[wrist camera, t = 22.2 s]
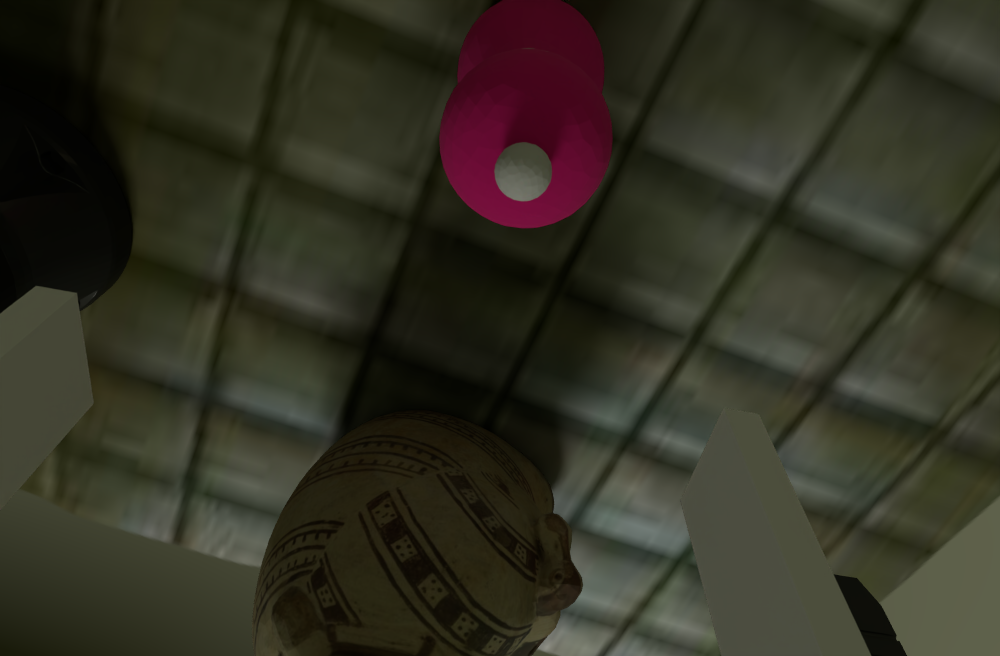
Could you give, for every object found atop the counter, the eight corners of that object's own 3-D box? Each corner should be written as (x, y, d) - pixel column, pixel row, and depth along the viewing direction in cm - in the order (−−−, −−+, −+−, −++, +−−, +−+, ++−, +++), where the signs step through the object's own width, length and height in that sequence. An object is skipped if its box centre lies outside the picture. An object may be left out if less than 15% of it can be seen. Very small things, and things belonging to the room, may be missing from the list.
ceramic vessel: (607, 527, 56) (662, 1050, 30) (371, 570, 60) (244, 1060, 34) (541, 337, 47) (539, 854, 21) (269, 404, 51) (-9, 901, 25)
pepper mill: (510, -44, 35) (479, -5, 18) (625, 36, 36) (698, 143, 19) (442, 81, 38) (361, 216, 21) (550, 149, 40) (556, 326, 23)
